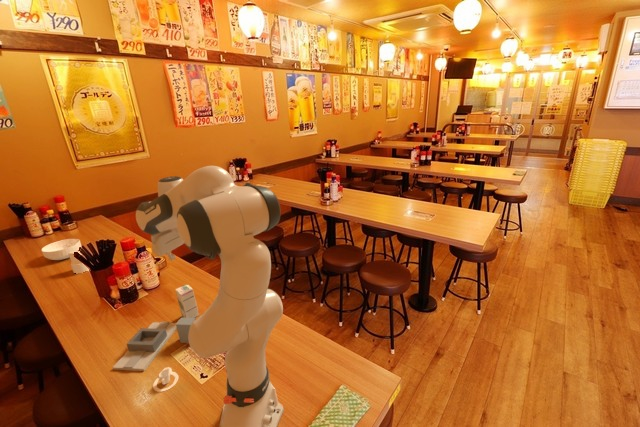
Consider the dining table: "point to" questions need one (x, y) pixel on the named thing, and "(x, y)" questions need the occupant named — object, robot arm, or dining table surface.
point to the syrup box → (187, 301)
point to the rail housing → (145, 346)
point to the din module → (184, 328)
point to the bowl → (61, 249)
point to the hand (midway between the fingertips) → (183, 252)
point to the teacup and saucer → (165, 379)
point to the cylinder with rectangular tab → (77, 263)
